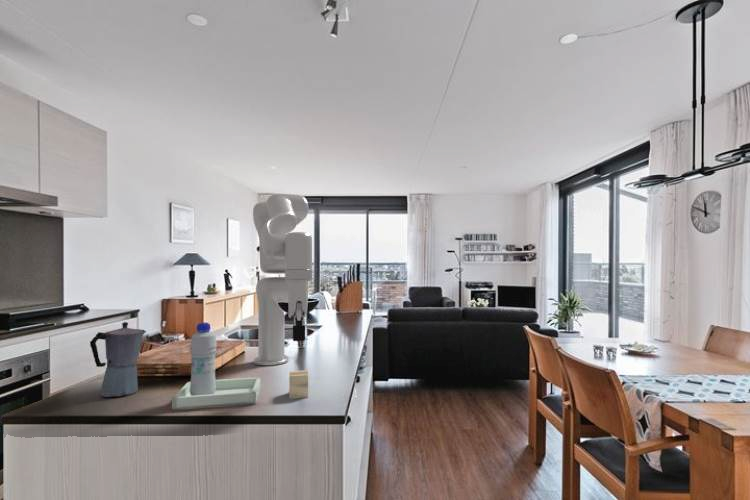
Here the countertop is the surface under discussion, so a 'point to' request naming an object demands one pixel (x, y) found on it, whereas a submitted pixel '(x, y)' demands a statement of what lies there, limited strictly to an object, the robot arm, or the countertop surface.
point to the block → (298, 384)
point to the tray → (220, 394)
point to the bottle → (203, 361)
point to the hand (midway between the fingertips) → (299, 337)
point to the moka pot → (119, 360)
